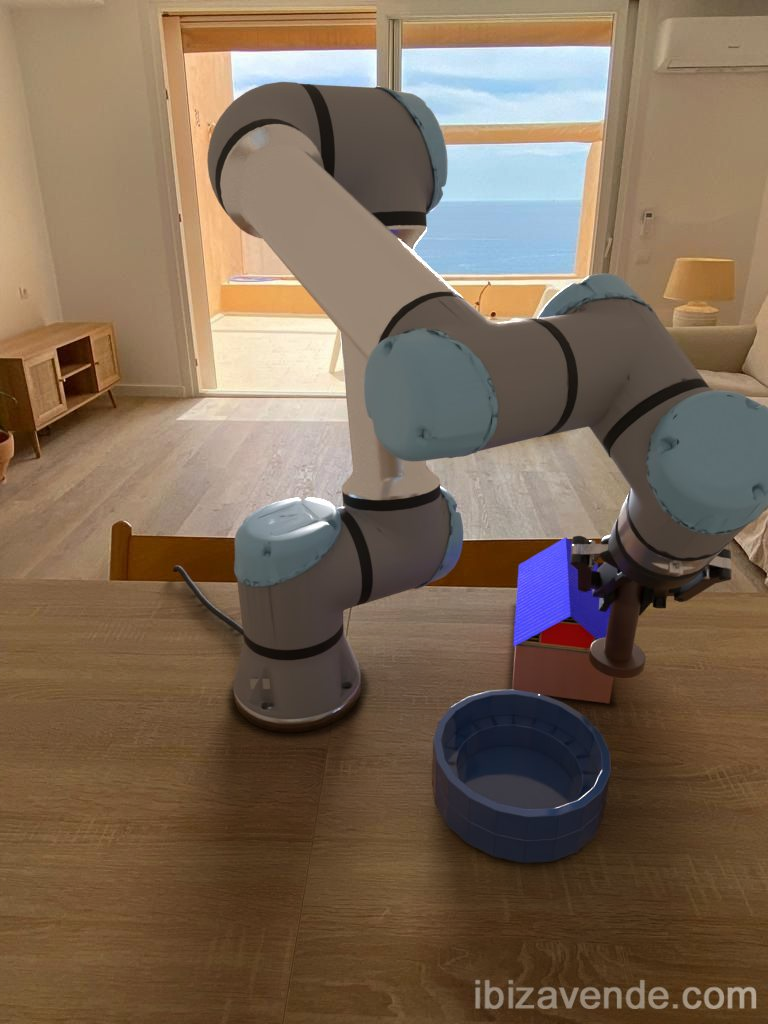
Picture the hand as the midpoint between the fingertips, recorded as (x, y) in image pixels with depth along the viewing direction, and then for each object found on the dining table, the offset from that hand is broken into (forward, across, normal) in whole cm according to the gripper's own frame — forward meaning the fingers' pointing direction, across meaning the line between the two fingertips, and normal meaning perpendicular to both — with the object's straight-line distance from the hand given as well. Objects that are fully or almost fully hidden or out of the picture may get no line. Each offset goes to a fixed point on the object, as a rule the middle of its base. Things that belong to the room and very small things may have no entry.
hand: (619, 601), depth 75 cm
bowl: (0, -9, -21) cm, 23 cm away
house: (+18, -5, -3) cm, 19 cm away
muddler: (+1, 0, -6) cm, 6 cm away
